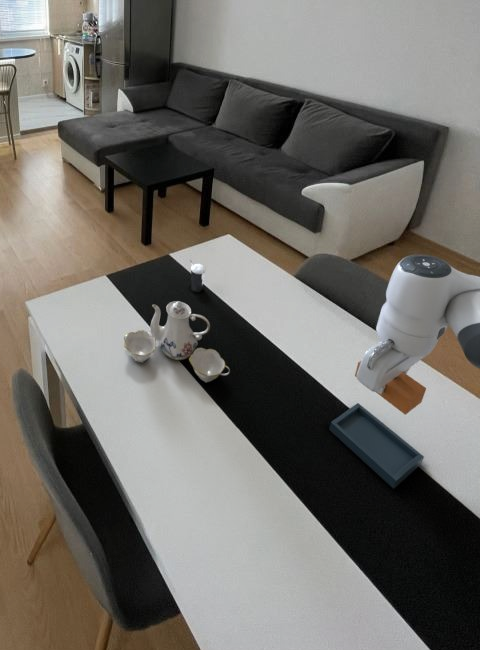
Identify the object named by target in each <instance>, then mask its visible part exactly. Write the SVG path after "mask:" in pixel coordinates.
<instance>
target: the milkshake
mask: <svg viewBox="0 0 480 650" xmlns="http://www.w3.org/2000/svg"><path fill="white" fill-rule="evenodd" d="M189 262H190V264H191V265H190V275H191V276H190V281H191V291H193V292H194V293H201V292H202V290H203V286H204V279H205V274H206V267H205V266H204V265H203V264H201V263H195V264H193V262H192V259H189Z"/></svg>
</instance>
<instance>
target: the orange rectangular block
mask: <svg viewBox="0 0 480 650" xmlns="http://www.w3.org/2000/svg"><path fill="white" fill-rule="evenodd" d="M361 361H362V359H361V360H359V361H358V363H357V366H356V370H355V373H354V377H355V378H357V377H356V375H357V372H358V369H359V366H360V364H361ZM386 385H387V389H386V391H385V392H384V393H382V394H379V393H378V392H377V391H376V392H375V393H376V394H378V395H379V396H380V397H381V398H383V399H384V400H385V401H387V402H388V403H389V404H390V405H391V406H393V407H394V408H395V409H397V410H398V411H399V412H400V413H402V414H404V415H408V414H409V413H410V412H411V411H413V410H414V409H415V408H416V407H418V406H419V405H420V404H421V403H422V402H423V399H424V396H425V394H426V390H427V388H426V387H425V386H424V385H423V384H422V383H420V382H418V381H417V380H416V379H414V378H413V377H411V376H409V375H408V373H407V374H405V373H404V372H403V373H401V374H400V375H399V376H397V377H396V378H394V379H393V380H392V381H390V382H389V383H387V384H386Z"/></svg>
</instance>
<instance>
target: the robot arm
mask: <svg viewBox="0 0 480 650" xmlns="http://www.w3.org/2000/svg"><path fill="white" fill-rule="evenodd" d="M385 297H386V300H385V302H384V303H383V304H382V306H381V309H380V313H379V316H378V320H377V323H376V327H375V331H376V333H377V335H378V337H379V339H380V340H381V341H379V342H378V343H376V344H374V345H373V346H371V347H370V348H368V349H367V350H366V352H365V353H364V354H363V356H362V359H361V360H362V361H361V360H360V361H361V364H360V366H359V369H358V372H357V375H356V377H355V378H356V380H358V382H359V383H360V384H362V385H363V386H364V387H366V388H367V389H368V390H369V391H371V392H373V393H376V391H377V392H378V393H379V394H382V393H384V392H385V391H386V389H387V385H386V384H387V383H389V382H390V381H392V380H393V379H394V378H396V377H397V376H399V375H400V374H401V373H403V372H404V373H405V374H407V375H408V372H409V370H410V369H411V368H412V367H413V366H414V365H415V364H417V363H418V362H420V361H421V360H422V359H424V358H425V357H426V356H428V355H430V354H431V353H432V352H433V351H434V349H435V348H436V345H437V343H438V342H439V339H440V337H442V336H443V335H444V334H445V333H446V331H447V329H448V327H449V328H450V329H451V331H452V332H453V333H454V336H455V337H456V339H457V341H458V344H459V346H460V348H461V350H462V352H463V354H464V356H465V358H466V360H467V361H468V362H469V364H471V365H472V366H473V367H476V368H477V369H479V370H480V275H477V274H472V273H466V272H463V271H460V270H457V269H456V268H455V267H452V266H451V265H450V264H449V263H448V262H447V261H445V260H443V259H441V258H439V257H437V256H434V255H430V254H411V255H407V256H405V257H403V258H402V259H401V260H400V261H398V263H397V264H396V266H395V267H394V269H393V271H392V274H391V275H390V278H389V282H388V284H387V288H386V291H385ZM379 394H378V395H379Z"/></svg>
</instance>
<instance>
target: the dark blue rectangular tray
mask: <svg viewBox="0 0 480 650" xmlns="http://www.w3.org/2000/svg"><path fill="white" fill-rule="evenodd" d="M328 430H329V431H330V432H331V433H332V434H333V435H334V436H335V437H336V438H338V439H339V440H340V441H341V442H342V443H343V444H344V445H345V446H346V447H347V448H348V449H350V450H351V452H353V453H354V454H355V455H356V456H357V457H358V458H359V459H360V460H361V461H362V462H364V463H365V465H367V466H368V467H369V468H371V470H372V471H373V472H375V474H377V475H378V476H379V478H381V479H382V480H383V481H384V482H385V483H386V484H388V486H390V487H391V488H392V489H393V490H394V489H395V488H396V487H397V486H399V485H400V484H401V483H402V482H403V481H404V480H406V479H407V478H408V477H409V476H410V475H411V474H412V473H413V472H415V470H416V469H418V467H420V466H421V465H422V462H423V460H424V458H425V456H424V454H423V455H422V453H420V452H419V451H418V450H417V449H416V448H415V447H413V446H412V445H411V444H409V443H408V442H407V441H406V440H404V438H402V437H401V436H400V435H398V434H397V433H396V432H395V431H393V430H392V428H389V427H388V426H387V425H386V424H384V423H383V422H382V421H381V420H380V419H379V418H377V416H375V415H374V414H373V413H372V412H370V411H369V410H368V409H366V408H365V407H364V406H362V405H361V404H360V403H358V402H357V403H356V404H354V405H352V406H351V407H350V408H349V409H348V410H346V411H344V412H343V413H342V414H340V415H339V416H338V417H336V418H335V419H333V420H332V421H331V422H330V425H329V429H328Z"/></svg>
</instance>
